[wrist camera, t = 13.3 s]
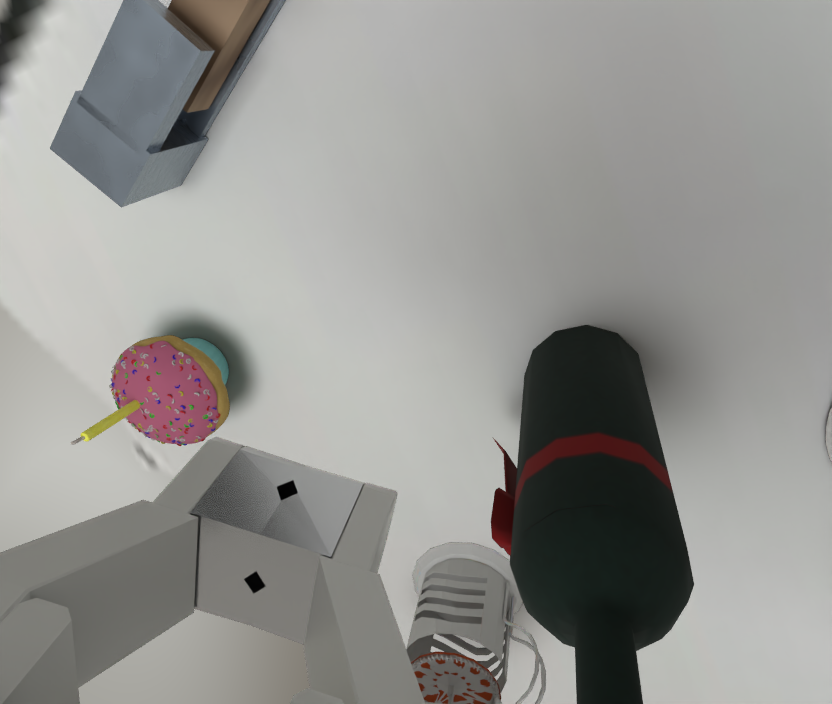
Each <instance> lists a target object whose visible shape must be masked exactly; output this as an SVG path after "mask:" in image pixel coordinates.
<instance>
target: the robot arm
mask: <svg viewBox="0 0 832 704" xmlns="http://www.w3.org/2000/svg"><path fill="white" fill-rule="evenodd" d="M826 446H827V451H828V454H829V457H830V460H831V462H832V407H831V410H830V413H829V416H828V420H827V425H826ZM396 500H397V491H394V490H391V489H387V488H384V487H380V486H377V485H373V484H370V483H364V482H361V481H357V480H354V479H350V478H347V477H344V476H340V475H337V474H333V473H330V472H327V471H323V470H320V469H316V468H313V467H310V466H305V465H303V464H300V463H297V462H294V461H291V460H288V459H285V458H282V457H279V456H276V455H273V454H269V453H266V452H263V451H260V450H257V449H254V448H251V447H248V446H243V445H240V444H237V443H234V442H231V441H228V440H225V439H222V438H219V437H214V438H212V439H210V440H208V441H207V442H206V443H205V444H204V445H203V446H202V447H201V448H200V450H199V451H198V452H197V453H196V454H195V455H194V456H193V457H192V459H191V460H190V461H189V462H188V463H187V464H186V465H185V466H184V468H183V469H182V470H181V471H180V472H179V473H178V474H177V475H176V477H175V478H174V479H173V480H172V481H171V482H170V483H169V484H168V486H167V487H166V488H165V489H164V490H163V491H162V492H161V493H160V494H159V496H158V497H157V498H156V499H155V500H154V501H153V502H149V501H145V500H141V501H138V502H136V503H133V504H130V505H128V506H125V507H122V508H119V509H117V510H114V511H111V512H109V513H106V514H103V515H101V516H98V517H95V518H92V519H90V520H87V521H84V522H82V523H79V524H76V525H74V526H71V527H68V528H65V529H63V530H60V531H58V532H55V533H52V534H49V535H46V536H44V537H41V538H38V539H36V540H33V541H31V542H28V543H25V544H22V545H19V546H17V547H14V548H11V549H9V550H6V551H4V552H1V553H0V704H80V701H79V691H78V688H79V687H80V686H82V685H83V684H85V683H86V682H88V681H90V680H91V679H93V678H94V677H96V676H97V675H99V674H100V673H102V672H103V671H105V670H106V669H108V668H109V667H111V666H112V665H114V664H116V663H117V662H119V661H120V660H122V659H123V658H125V657H126V656H128V655H129V654H131V653H132V652H134V651H135V650H137V649H139V648H140V647H142V646H143V645H145V644H146V643H148V642H149V641H151V640H152V639H154V638H155V637H157V636H158V635H160V634H162V633H163V632H165V631H166V630H168V629H169V628H171V627H172V626H174V625H175V624H177V623H178V622H180V621H181V620H183V619H185V618H186V617H188V616H189V615H191V614H192V613H194V609H197V610H200V611H204V612H207V613H210V614H214V615H217V616H221V617H224V618H228V619H231V620H234V621H237V622H241V623H244V624H247V625H251V626H253V627H256V628H259V629H262V630H265V631H267V632H270V633H273V634H276V635H278V636H281V637H284V638H287V639H289V640H292V641H295V642H298V643H301V644H303V645H304V653H305V660H306V666H307V673H308V680H309V686H310V689H308V688H307V689H305V690H303V691H301V692H299V693H297V694H295V695H293V698H292V700H291V703H290V704H425V701H424V698H423V696H422V693H421V690H420V687H419V684H418V681H417V679H416V676H415V673H414V670H413V667H412V665H411V662H410V659H409V656H408V653H407V650H406V648H405V645H404V642H403V639H402V636H401V633H400V631H399V628H398V625H397V622H396V619H395V617H394V614H393V611H392V608H391V605H390V602H389V600H388V597H387V594H386V591H385V588H384V585H383V583H382V580H381V577H380V574H377V573H378V569H379V565H380V562H381V558H382V555H383V551H384V547H385V543H386V540H387V536H388V532H389V528H390V524H391V520H392V516H393V512H394V508H395V504H396Z"/></svg>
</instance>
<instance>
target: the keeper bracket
mask: <svg viewBox="0 0 832 704" xmlns="http://www.w3.org/2000/svg"><path fill="white" fill-rule="evenodd" d="M284 2H285V0H270V1H269V3H268V5H267V7H266V8H265V10H264V12H263V14H262V16H261V17H260V19H259V21H258V23H257V24H256V26H255V28H254V30H253V31H252V33H251V35H250V37H249V38H248V40H247V42H246V44H245V45H244V47H243V49H242V51H241V52H240V54H239V56H238V58H237V60H236V61H235V63H234V65H233V67H232V68H231V70H230V72H229V74H228V75H227V77H226V79H225V81H224V82H223V84H222V86H221V88H220V89H219V91H218V93H217V95H216V96H215V98H214V100H213V102H212V103H211V105H210V107H209V109H206V110H200V111H195V112H189V113H187V112H185V111H184V110H183V107H184V105H185V104H186V102H187V100H188V98H189V96H190V95H191V93H192V91H193V89H194V87H195V86H196V84H197V82H198V80H199V78H200V77H201V75H202V73H203V71H204V70H205V68H206V66H207V64H208V62H209V61H210V59H211V57H212V55H213V53H214V52H215V50H213V49H212V48H211V47H210V46H209V45H208V44H207V43H206V42H204V41H203V40H202V39H201V38H200V37H199V36H198V35H197V34H196V33H194V32H193V31H192V30H191V29H190V28H189V27H188V26H187V25H185V24H184V23H183V22H182V21H181V20H180V19H179V18H178V17H177V16H175V15H174V14H173V13H172V12H171V11H170V10H169V9H168V8H166V7H165V6H164V5H163V4H162V3H161V2H160V1H159V0H123V3H122V5H121V7H120V9H119V11H118V14H117V16H116V18H115V20H114V22H113V24H112V27H111V29H110V31H109V33H108V35H107V38H106V40H105V42H104V44H103V46H102V49H101V51H100V53H99V55H98V57H97V59H96V62H95V64H94V66H93V68H92V70H91V73H90V75H89V77H88V79H87V81H86V83H85V86H84V88H83V90H82V91H75V94H74V96H73V98H72V100H71V103H70V105H69V107H68V109H67V111H66V114H65V116H64V118H63V120H62V122H61V125H60V127H59V129H58V131H57V134H56V136H55V138H54V140H53V142H52V145H51V147H50V149H51V150H52V151H53V152H55V153H56V154H57V155H58V156H59V157H61V158H62V159H63V160H64V161H66V162H67V163H68V164H69V165H70V166H72V167H73V168H74V169H75V170H76V171H78V172H79V173H80V174H81V175H83V176H84V177H85V178H86V179H87V180H89V181H90V182H91V183H92V184H93V185H95V186H96V187H97V188H98V189H100V190H101V191H102V192H103V193H104V194H106V195H107V196H108V197H109V198H110V199H112V200H113V201H114V202H115V203H117V204H118V205H119V206H120V207H124V206H126V205H129V204H132V203H135V202H137V201H140V200H143V199H145V198H148V197H151V196H154V195H156V194H159V193H162V192H164V191H167V190H170V189H173V188H175V187H178V186H181V184H182V183H183V181H184V179H185V178H186V176H187V174H188V173H189V171H190V169H191V168H192V166H193V164H194V163H195V161H196V159H197V158H198V156H199V154H200V153H201V151H202V149H203V148H204V146H205V144H206V143H207V141H208V138H207V137H206V136H205V135H206V133H207V132H208V130H209V128H210V127H211V125H212V123H213V121H214V120H215V118H216V116H217V115H218V113H219V111H220V110H221V108H222V106H223V105H224V103H225V101H226V100H227V98H228V96H229V95H230V93H231V91H232V89H233V88H234V86H235V84H236V83H237V81H238V79H239V78H240V76H241V74H242V73H243V71H244V69H245V68H246V66H247V64H248V62H249V61H250V59H251V57H252V56H253V54H254V52H255V51H256V49H257V47H258V46H259V44H260V42H261V41H262V39H263V37H264V36H265V34H266V32H267V30H268V29H269V27H270V25H271V24H272V22H273V20H274V19H275V17H276V15H277V14H278V12H279V10H280V9H281V7H282V5H283V4H284Z"/></svg>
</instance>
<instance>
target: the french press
mask: <svg viewBox="0 0 832 704" xmlns="http://www.w3.org/2000/svg"><path fill="white" fill-rule="evenodd" d="M412 576H413V581H414V586H415V590H416V593H417V594H418V595H419V600H418V604H417V608H416V612H415V616H414V620H413V624H412V628H411V632H410V636H409V640H408V645H407V649H406V650H407V653H408V656H409V659H410V662H411V665H412V667H413V670H414V673H415V676H416V679H417V681H418V684H419V687H420V690H421V693H422V696H423V698H424V701H425V704H502V702H501V694H500V693H501V692H502V690H503V687H504V685H505V683H506V681H507V668H508V655H509V642H510V637H511V638H512V639H513V640H515V641H518V642H520V643H522V644H524V645H527V646H528V647H529V648H530V649H532V650H533V651H534V652H535V655H536V660H535V673H534V676H533V678H532V681H531V683H530V686H529V688H528V690H527V691H526V692H525V693H524V695H523V696H522V697H521V698H520V699H519V700H518V701H517V702H516V704H521V703H522V702H523V701H524V700H525V698H526V697H527V696H528V695H529V693H530V692H531V691H532V689H533V686H534V683H535V681H536V678H537V675H538V672H539V662H540V664H541V679H542V687H541V690H540V693H539V697H538V699H537V701H536V703H535V704H540V702H541V700H542V698H543V695H544V692H545V686H546V670H545V667H544V663H543V659H542V658H541V656H540V654H539V652H538V649H537V645H536V643H535V641H534V639H533V637H532V635H531V634H530V633H529V632H527V631H526V630H525V629H523V628H522V627H521V626H518V625H516V624H513V615H514V614H515V613H516V612H518V611H519V609H520V607H521V605H522V602H523V601H522V599H521V597H520V594H519V591H518V588H517V585H516V582H515V579H514V576H513V573H512V570H511V567H510V561H509V560H508V559H506V558H505V557H503V556H502V555H501V554H499V553H498V552H496V551H495V550H492V549H489V548H486V547H483V546H480V545H477V544H474V543H450V542H449V543H446V544H443V545H440V546H437V547H434V548H431V549H429V550H428V551H427V552H426V553H425V554H424V555H423V556H421V557H420V558H419V559H418V560H417V562H416V566H415V569H414V572H413V575H412ZM506 625H507V626H506ZM505 627H506V631H505V633H504V630H505ZM513 627H515V628H517V629H520V630H521V631H523V632H524V633H525V634H526V635H527V636H528V637H529V639H530V641H531V643H532V645H533V646H532V645H531V644H530V643H528V642H527V641H524V640H521V639H519V638H516V637H514V636H513V635H512V628H513ZM435 633H436V634H438V635H440V636H442V637H444V638H446V639H448V640H450V641H451V642H453V643H455V644H457V645H458V646H460V647H462V648H464V649H466V650H468V651H469V652H471V653H473V654H475V655H489V654H490V653H492V652H493V653H494V654H495V656H494V657H492V658H491V659H490V660H488V661H475V660H474V659H471V658H468V657H466V656H465V655H463V654H461V653H460V652H458V651H456V650H455V649H453V648H451V647H449V646H448V645H446V644H444V643H442V642H440V641H438V640H435V639H433V635H434V634H435ZM455 635H458V636H462V637H466V638H469V639H471V640H474V641H476V642H478V643H480V644H482V645H483V646H485V647H486V648H476V647H474V646H472V645H470V644H468V643H467V642H465V641H463V640H462V639H460V638H458V637H456V636H455ZM504 640H505V644H504V646H503V641H504ZM431 646H433V647H436V648H438V649H440V650H442V651H444V652H433V653H432V652H430V650H431ZM503 653H504V658H503V659H502V654H503ZM498 660H500V661H501V662H500V664H499V666H498V667H497V668H496V669H494V670H493V671H491V672H490V671H489V670H488V669H487V668H489V667H490V666H491V665H493V664H494V663H495V662H497V661H498ZM502 667H503V672H502V674H501V676H500V677H499V678H498V680H497V681H496V679H495V678H494V677H495V676H496V675H497V674H498V673H499V671H500V670H501V668H502Z"/></svg>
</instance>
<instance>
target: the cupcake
mask: <svg viewBox="0 0 832 704" xmlns="http://www.w3.org/2000/svg"><path fill="white" fill-rule="evenodd" d="M113 368H114V369H113V370H112V371H111V372H112V379H111V381H112V384H111V385H109V387H110V388H112V390H113V392H112V394H113V395H114V396H115V398H114V396H113V398H114V399H116V400H115V403H116V405H117V408H118V409H119V410H117V411H116V412H114V413H113V414H111V415H109V416H108V417H106V418H105V419H103V420H101V421H100V422H99V423H97V424H95V425H93V426H92V427H90V428H89V429H87V430H86V431H84V432H82V433H81V437H80V438H78V439H77V440H75V441H73V442H71V444H72V445H73V444H76V443H78V442H79V441H81V440H84V441H89V440H91V439H92V438H94V437H95V436H97V435H99V434H100V433H102V432H103V431H105V430H106V429H108V428H109V427H111V426H112V425H114V424H116V423H117V422H119V421H120V420H122V419H123V418H125V419H127V420H128V422H129V423H131V425H132V426H133V427H135V429H138V431H139V432H142V433H143V434H144V435H145V437H148V438H151V439H152V440H157V441H158V442H160V441H161V443H162V444H165V443H170V444H177V445H178V446H181V445H187V444H192V443H198V442H200V441H204V440H205V438H206V437H207V436H209V435H210V434H212V433H213V432H215V431H216V430H217V429H218V428H219V427H220V426H221V425H222V424H223V423H224V421H225V420H226V418H227V417H228V414H229V409H230V403H229V399H228V393H227V389H226V387H225V385H226V382H227V380H228V376H229V368H228V364H227V361H226V359H225V357H224V355H223V354H222V353H221V351H220V350H219V349H218V348H217V347H215V346H214V345H213V344H211V343H210V342H208V341H206V340H203V339H199V338H186V339H183V340H182V339H180V338H178V337H176V336H172V335H167V336H161V337H153V338H148V339H144V340H141V341H139V342H137V343H135V344H133V345H132V346H131V347H129V348H128V349H126V350H125V351H124V352H123V353H122V354H121V355H120V357H119V358H118V360H117V362H116V365H115V366H113ZM112 390H111V391H112ZM163 442H164V443H163Z"/></svg>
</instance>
